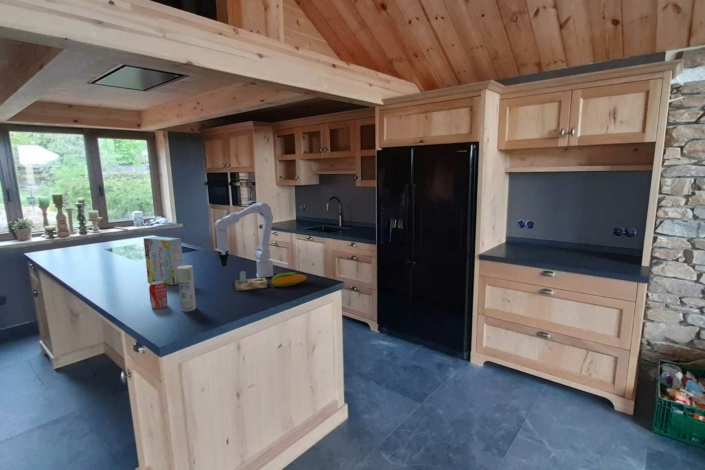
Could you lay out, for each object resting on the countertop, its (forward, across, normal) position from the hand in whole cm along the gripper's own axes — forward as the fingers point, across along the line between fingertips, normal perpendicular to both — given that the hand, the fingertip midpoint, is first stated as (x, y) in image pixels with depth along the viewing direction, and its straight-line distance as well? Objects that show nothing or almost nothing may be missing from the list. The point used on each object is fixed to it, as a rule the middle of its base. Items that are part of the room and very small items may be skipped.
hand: (224, 264), depth 211 cm
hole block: (+10, +15, +13) cm, 22 cm away
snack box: (+11, -14, -32) cm, 37 cm away
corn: (+11, +19, +33) cm, 40 cm away
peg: (+10, +15, +9) cm, 20 cm away
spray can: (+11, +38, -17) cm, 43 cm away
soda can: (+11, +30, -30) cm, 44 cm away
